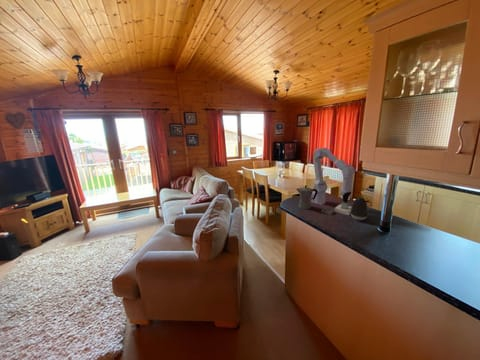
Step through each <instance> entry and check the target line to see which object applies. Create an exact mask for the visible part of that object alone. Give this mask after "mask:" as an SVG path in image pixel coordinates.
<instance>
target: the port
mask: <svg viewBox="0 0 480 360" xmlns="http://www.w3.org/2000/svg"><path fill="white" fill-rule="evenodd" d="M341 206H342V203H340V204H338V205H337V206H336V207H334V209H335V210H334V212H335V213H339V214H343V215H347V216H350V215H351V213H350V211H351V207H352V206H350V205H348V209H347V210H345V209H342V208H341Z"/></svg>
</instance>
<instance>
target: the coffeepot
mask: <svg viewBox="0 0 480 360" xmlns="http://www.w3.org/2000/svg"><path fill="white" fill-rule="evenodd" d="M295 190H297V192H298V194H299V197H300V198H299V201H298V208H299V209H301V210H302V209H303V210H309V209H311V207H312V206H311V205H312V204H311V200H312V199H315V197H316V195H317V193H318V191H317V190H316V189H314V188H311V187H308V186H307V185H304V186H303V187H299V188H298V187H297V188H296V189H295ZM313 191H315V195H314V198H312V193H313Z"/></svg>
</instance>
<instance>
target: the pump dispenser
mask: <svg viewBox="0 0 480 360" xmlns="http://www.w3.org/2000/svg"><path fill="white" fill-rule="evenodd" d="M370 202H371V200H366V198H364V197H361V196H359V197H356V199H355V200H354V202H353V203H352V204H351V206H350V207H351V211H350V213H351V214H350V215H351V217H352V219H354V220H357V221H364V220H366V219H367V217H368V216H369V207H368V203H370Z"/></svg>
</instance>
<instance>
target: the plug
mask: <svg viewBox="0 0 480 360" xmlns="http://www.w3.org/2000/svg"><path fill="white" fill-rule="evenodd" d="M341 204H342V206H341V208H342V209H345V210H347V209H348V206H350V205H349V204H350V203H349V202H348V201H347V202H343V201H342V202H341Z"/></svg>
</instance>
